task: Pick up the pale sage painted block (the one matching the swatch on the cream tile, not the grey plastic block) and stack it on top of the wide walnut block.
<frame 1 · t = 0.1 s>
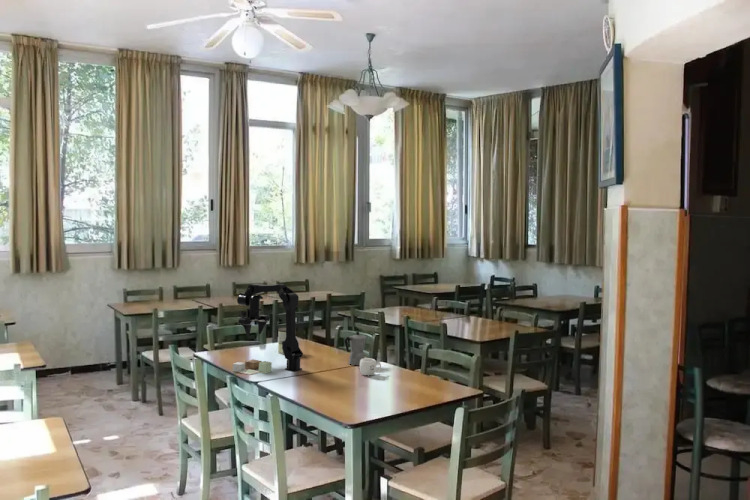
hand: (253, 335, 350), 15 cm above the table, fingers open, 9 cm apart
swatch tile: (249, 372, 327), on the table
sage block: (265, 372, 329), on the table
walnut block: (253, 368, 336), on the table
coffeepot: (355, 364, 352), on the table
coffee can: (286, 352, 377), on the table
grey block: (238, 371, 330), on the table
mug: (370, 374, 331), on the table
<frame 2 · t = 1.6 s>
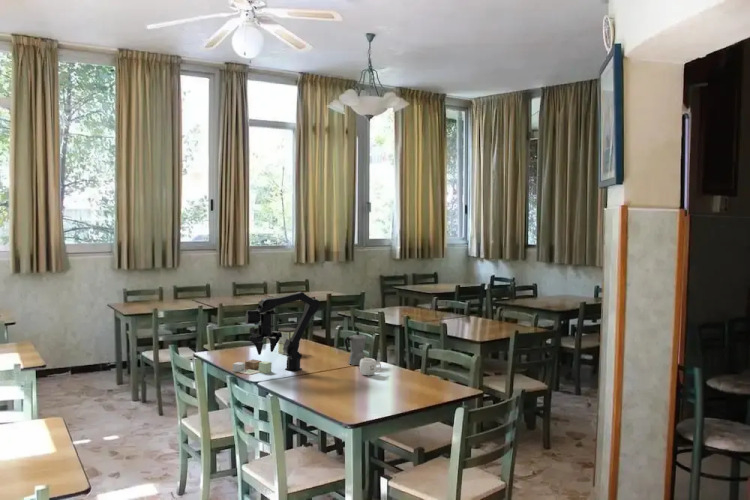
hand: (265, 353, 329), 10 cm above the table, fingers open, 9 cm apart
nothing on the table moved.
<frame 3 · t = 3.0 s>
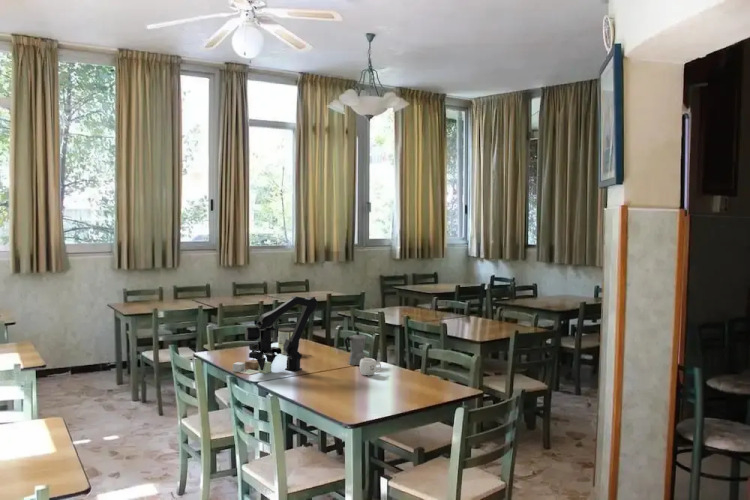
hand: (265, 369, 329), 1 cm above the table, fingers closed on sage block, 4 cm apart
sage block: (265, 371, 329), on the table, touching gripper
everything else where it was.
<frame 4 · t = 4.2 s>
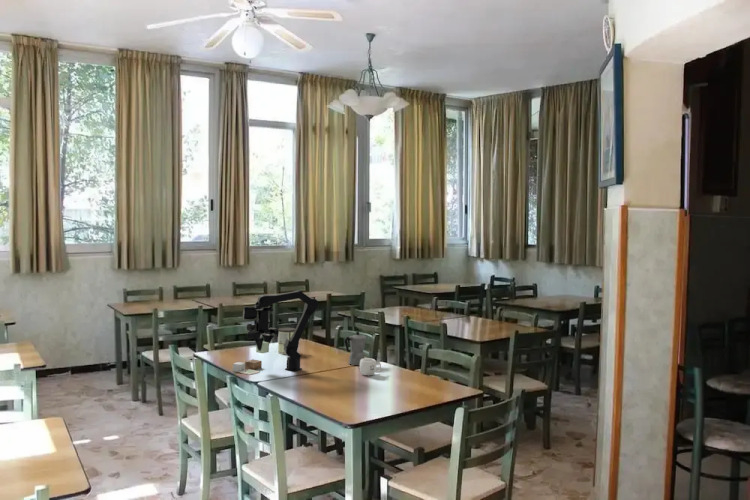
hand: (262, 349, 330), 11 cm above the table, fingers closed on sage block, 4 cm apart
sage block: (262, 352, 330), point 10 cm above the table, touching gripper
everything else where it was.
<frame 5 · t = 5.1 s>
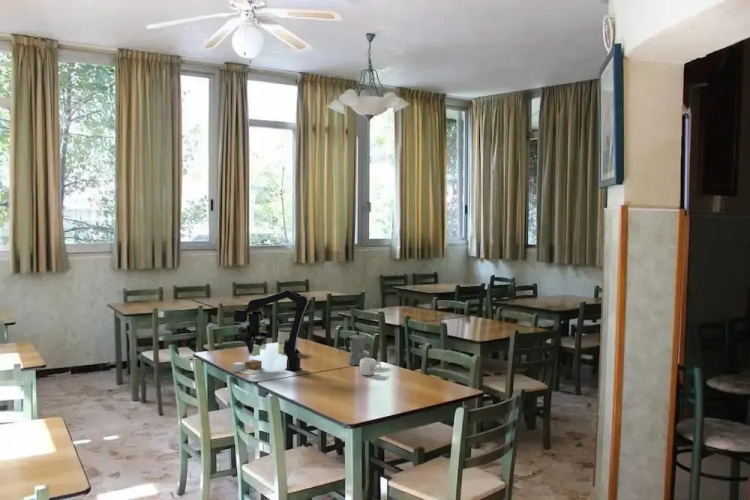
hand: (253, 352, 336), 8 cm above the table, fingers closed on sage block, 4 cm apart
sage block: (253, 355, 336), point 7 cm above the table, touching gripper
everything else where it was.
when the fingers open (6 cm above the table, at t = 5.7 s): sage block drops 1 cm, resting on walnut block.
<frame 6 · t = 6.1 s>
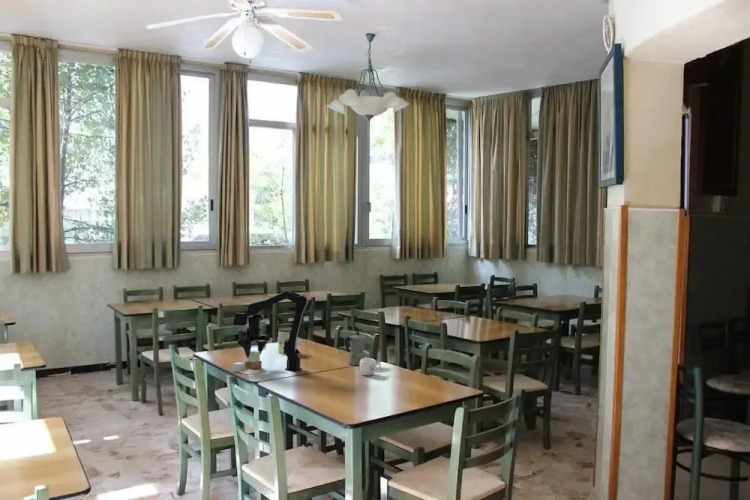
hand: (253, 356, 336), 6 cm above the table, fingers open, 8 cm apart
sage block: (253, 361, 336), point 4 cm above the table, touching walnut block
walnut block: (253, 368, 336), on the table, touching sage block
everything else where it was.
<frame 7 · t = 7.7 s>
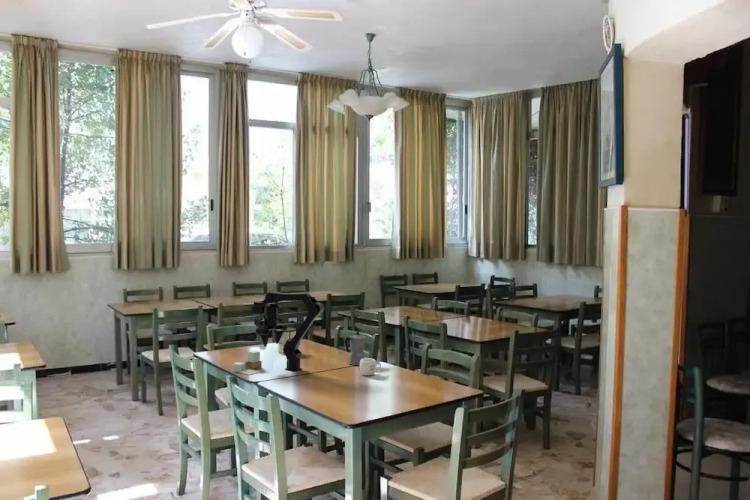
hand: (271, 345, 338), 12 cm above the table, fingers open, 9 cm apart
nothing on the table moved.
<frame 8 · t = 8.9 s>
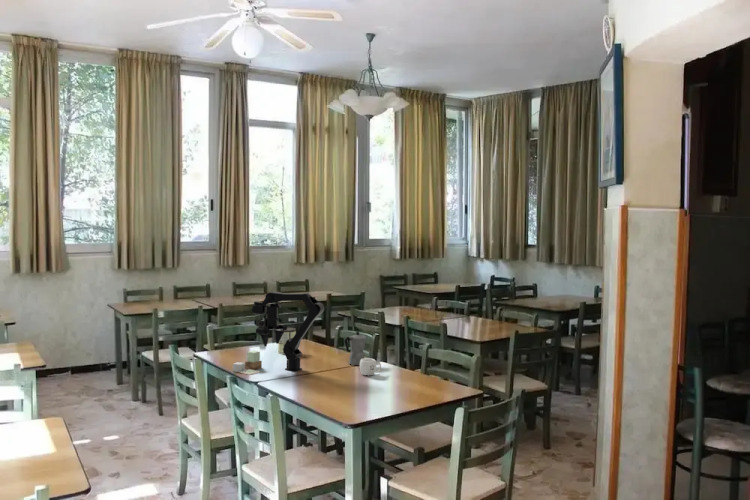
hand: (271, 344, 338), 12 cm above the table, fingers open, 9 cm apart
nothing on the table moved.
at the end: sage block 0.3 cm off-centre on the walnut block, point 4.0 cm above the walnut block's base; sage block tilted 0°; sage block touching walnut block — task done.
